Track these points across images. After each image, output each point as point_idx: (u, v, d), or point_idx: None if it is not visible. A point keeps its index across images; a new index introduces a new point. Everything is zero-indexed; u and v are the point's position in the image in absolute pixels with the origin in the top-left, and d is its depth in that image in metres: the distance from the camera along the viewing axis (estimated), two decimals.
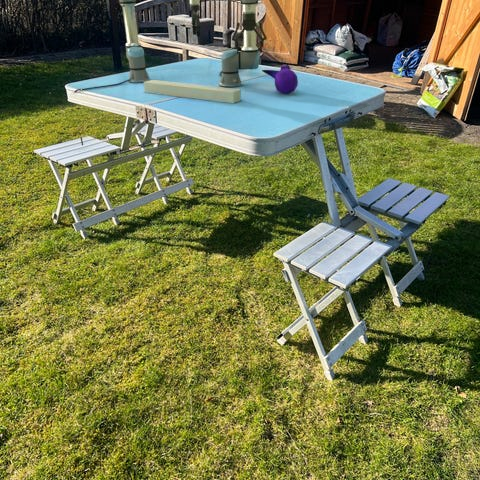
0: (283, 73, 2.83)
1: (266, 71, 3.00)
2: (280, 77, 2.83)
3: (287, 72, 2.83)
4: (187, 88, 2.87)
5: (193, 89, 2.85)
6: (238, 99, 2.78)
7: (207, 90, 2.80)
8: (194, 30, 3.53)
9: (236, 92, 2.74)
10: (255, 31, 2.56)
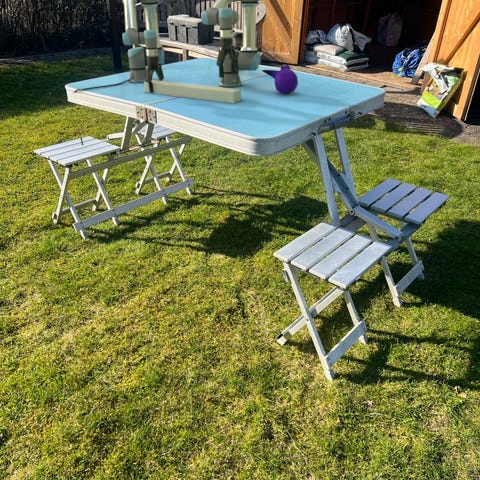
0: (283, 73, 2.83)
1: (266, 71, 3.00)
2: (280, 77, 2.83)
3: (287, 72, 2.83)
4: (187, 88, 2.87)
5: (193, 89, 2.85)
6: (238, 99, 2.78)
7: (207, 90, 2.80)
8: None
9: (236, 92, 2.74)
10: (232, 54, 2.69)
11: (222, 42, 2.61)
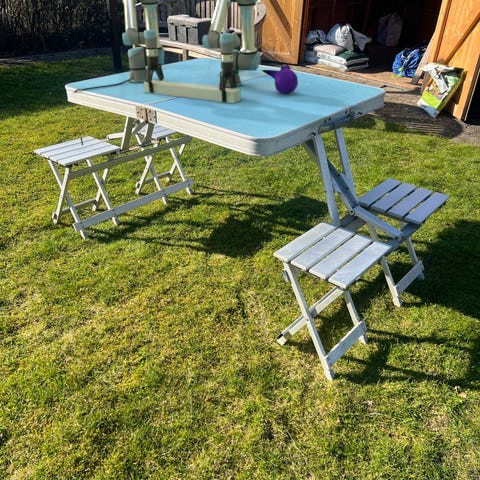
0: (283, 73, 2.83)
1: (266, 71, 3.00)
2: (280, 77, 2.83)
3: (287, 72, 2.83)
4: (187, 88, 2.87)
5: (193, 89, 2.85)
6: (238, 99, 2.78)
7: (207, 90, 2.80)
8: None
9: (236, 92, 2.74)
10: (231, 78, 2.75)
11: (223, 66, 2.68)
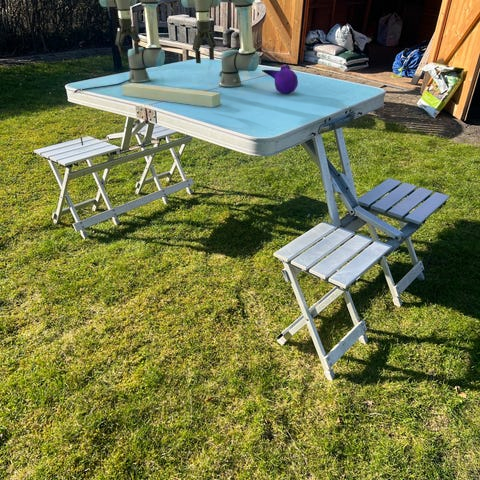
0: (283, 73, 2.83)
1: (266, 71, 3.00)
2: (280, 77, 2.83)
3: (287, 72, 2.83)
4: (166, 91, 2.79)
5: (172, 93, 2.77)
6: (217, 103, 2.70)
7: (186, 94, 2.72)
8: (136, 48, 2.89)
9: (215, 96, 2.66)
10: (209, 38, 2.56)
11: (198, 25, 2.48)
